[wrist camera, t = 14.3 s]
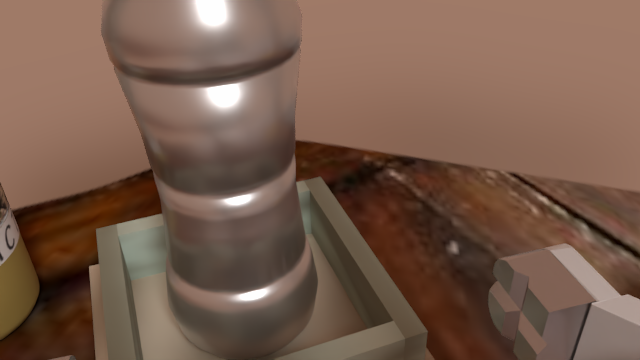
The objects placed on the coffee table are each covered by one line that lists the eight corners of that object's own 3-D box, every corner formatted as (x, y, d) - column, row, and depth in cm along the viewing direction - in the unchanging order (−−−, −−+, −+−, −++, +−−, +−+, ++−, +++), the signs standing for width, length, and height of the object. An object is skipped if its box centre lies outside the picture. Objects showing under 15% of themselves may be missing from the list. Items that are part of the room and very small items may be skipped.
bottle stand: (331, 221, 36) (330, 163, 34) (452, 408, 25) (463, 342, 23) (94, 282, 32) (74, 222, 30) (115, 535, 21) (85, 471, 19)
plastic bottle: (320, 378, 25) (297, -160, 14) (162, 383, 25) (12, -151, 14) (319, 274, 30) (302, -176, 19) (189, 278, 30) (96, -169, 19)
